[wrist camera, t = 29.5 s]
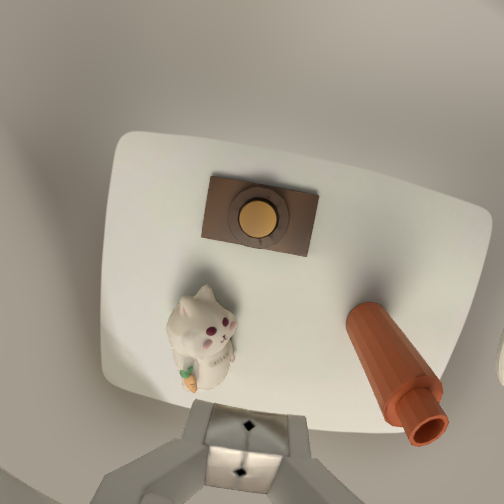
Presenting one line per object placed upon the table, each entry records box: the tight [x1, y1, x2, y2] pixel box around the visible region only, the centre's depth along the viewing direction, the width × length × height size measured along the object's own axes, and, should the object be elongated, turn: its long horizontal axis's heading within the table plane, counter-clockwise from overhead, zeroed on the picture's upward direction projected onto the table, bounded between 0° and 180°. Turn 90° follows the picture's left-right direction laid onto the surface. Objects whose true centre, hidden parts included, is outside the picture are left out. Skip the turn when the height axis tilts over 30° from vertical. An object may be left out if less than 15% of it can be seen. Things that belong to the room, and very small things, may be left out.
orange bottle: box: [346, 302, 449, 447], centre depth 29 cm, size 6×6×22 cm
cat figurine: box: [166, 285, 238, 393], centre depth 38 cm, size 10×8×15 cm
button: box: [239, 200, 276, 238], centre depth 35 cm, size 4×4×2 cm
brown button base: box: [201, 176, 319, 257], centre depth 37 cm, size 13×8×3 cm, turn 80°
